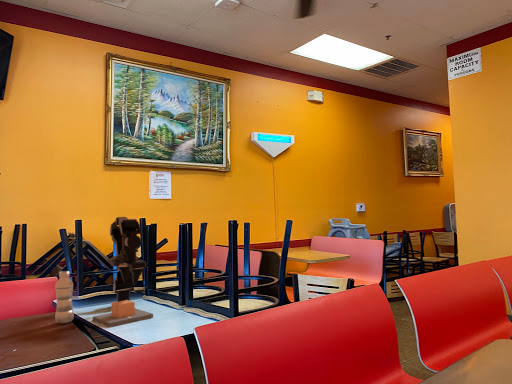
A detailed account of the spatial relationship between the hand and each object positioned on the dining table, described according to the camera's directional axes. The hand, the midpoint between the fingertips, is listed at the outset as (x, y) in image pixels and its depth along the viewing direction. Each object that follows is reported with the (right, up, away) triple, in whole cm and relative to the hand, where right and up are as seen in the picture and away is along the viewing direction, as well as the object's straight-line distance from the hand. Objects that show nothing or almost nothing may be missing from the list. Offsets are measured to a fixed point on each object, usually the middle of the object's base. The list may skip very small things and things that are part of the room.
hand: (129, 283), depth 169 cm
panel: (+2, -11, -14) cm, 18 cm away
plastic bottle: (-20, -12, -17) cm, 29 cm away
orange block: (+2, -10, -13) cm, 16 cm away
